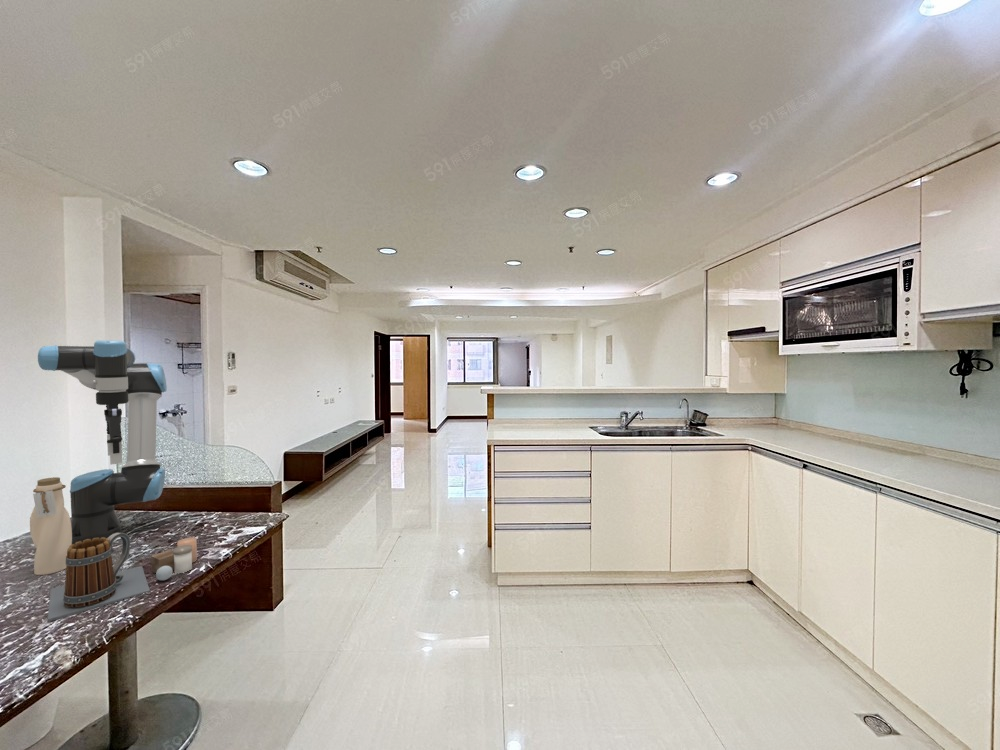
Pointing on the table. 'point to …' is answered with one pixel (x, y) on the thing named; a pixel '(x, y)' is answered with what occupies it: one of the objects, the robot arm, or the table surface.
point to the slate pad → (126, 588)
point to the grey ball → (164, 573)
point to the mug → (93, 570)
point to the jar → (182, 558)
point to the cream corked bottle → (50, 527)
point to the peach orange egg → (193, 543)
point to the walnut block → (162, 560)
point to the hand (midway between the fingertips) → (114, 459)
